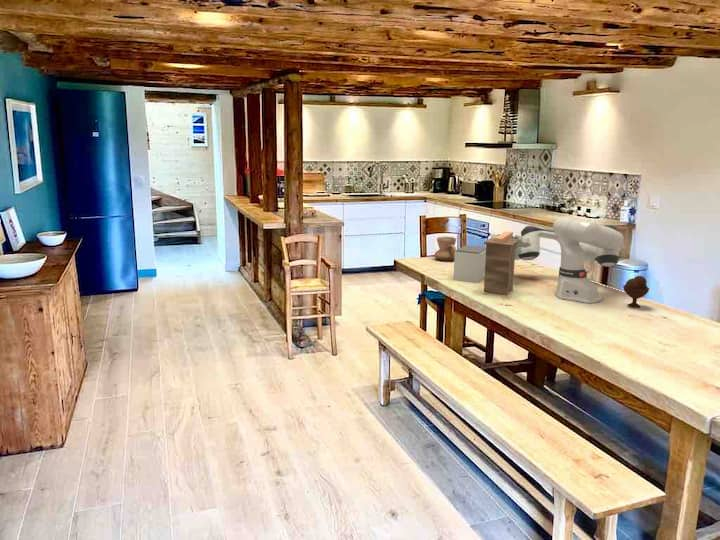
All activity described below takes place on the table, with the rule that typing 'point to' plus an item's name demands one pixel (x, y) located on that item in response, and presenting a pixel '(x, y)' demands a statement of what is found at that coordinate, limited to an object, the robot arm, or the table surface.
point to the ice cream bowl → (636, 289)
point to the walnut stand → (499, 266)
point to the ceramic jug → (446, 248)
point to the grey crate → (470, 263)
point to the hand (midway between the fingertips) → (507, 235)
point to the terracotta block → (503, 237)
